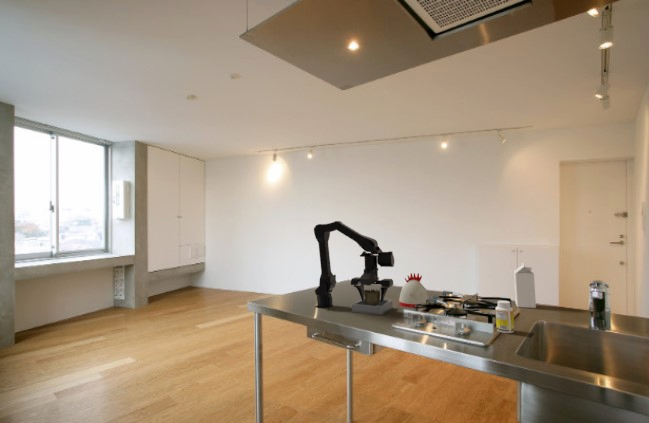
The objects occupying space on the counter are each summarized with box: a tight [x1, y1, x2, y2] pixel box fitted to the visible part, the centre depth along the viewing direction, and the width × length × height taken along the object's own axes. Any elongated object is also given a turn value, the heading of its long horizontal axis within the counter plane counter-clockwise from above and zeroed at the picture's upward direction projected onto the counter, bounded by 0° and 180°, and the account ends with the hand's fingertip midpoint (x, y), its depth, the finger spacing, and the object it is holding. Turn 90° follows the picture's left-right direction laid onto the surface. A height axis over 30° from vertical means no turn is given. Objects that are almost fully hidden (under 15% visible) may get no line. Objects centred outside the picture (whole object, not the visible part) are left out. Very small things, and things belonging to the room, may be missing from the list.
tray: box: [351, 297, 394, 316], centre depth 158 cm, size 14×14×4 cm
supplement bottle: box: [495, 300, 515, 334], centre depth 122 cm, size 6×6×10 cm
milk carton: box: [513, 262, 537, 309], centre depth 156 cm, size 7×7×19 cm
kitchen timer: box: [398, 272, 430, 309], centre depth 167 cm, size 14×14×15 cm
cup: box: [364, 288, 381, 306], centre depth 158 cm, size 8×7×8 cm
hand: (372, 301), depth 158 cm, fingers open, 9 cm apart
